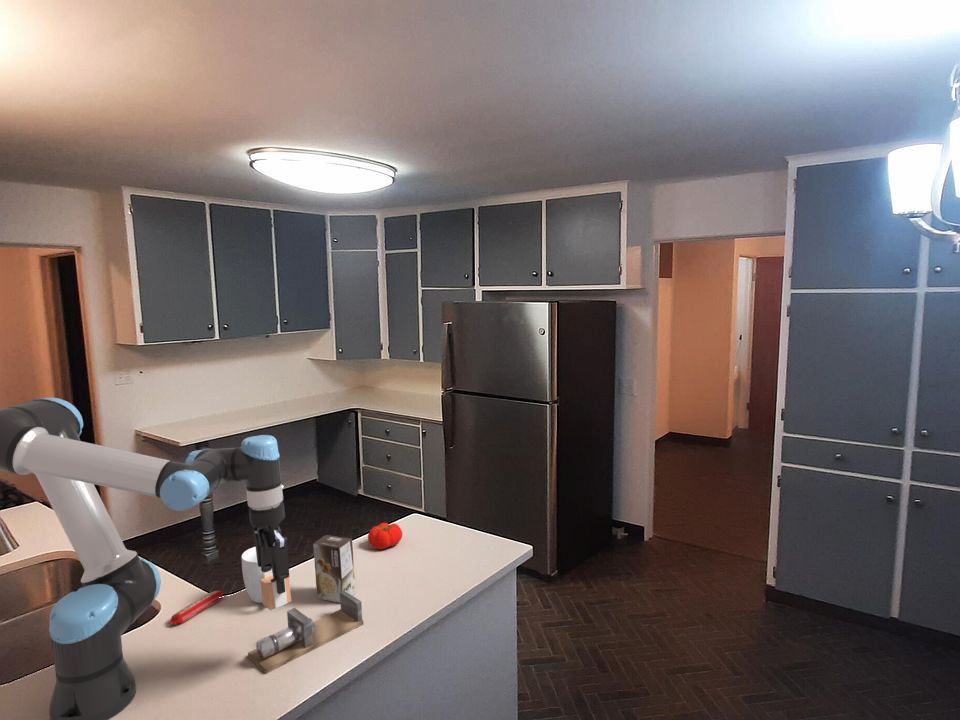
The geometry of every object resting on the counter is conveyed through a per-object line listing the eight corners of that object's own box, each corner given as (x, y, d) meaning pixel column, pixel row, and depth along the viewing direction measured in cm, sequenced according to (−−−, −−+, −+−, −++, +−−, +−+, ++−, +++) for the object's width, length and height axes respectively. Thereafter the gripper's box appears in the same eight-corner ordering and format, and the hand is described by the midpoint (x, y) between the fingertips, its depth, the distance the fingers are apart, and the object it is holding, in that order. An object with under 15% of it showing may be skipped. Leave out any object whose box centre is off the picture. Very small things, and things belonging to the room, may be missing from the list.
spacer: (270, 610, 133) (267, 585, 132) (263, 604, 135) (260, 579, 135) (291, 601, 136) (288, 576, 135) (283, 595, 139) (280, 571, 138)
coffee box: (356, 592, 165) (353, 538, 163) (343, 604, 159) (340, 548, 157) (329, 587, 168) (326, 533, 166) (315, 598, 163) (312, 543, 161)
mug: (295, 605, 159) (292, 560, 157) (252, 619, 153) (249, 571, 151) (280, 583, 171) (277, 540, 170) (240, 594, 165) (237, 550, 164)
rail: (266, 673, 131) (263, 643, 130) (248, 656, 137) (246, 627, 136) (363, 624, 150) (362, 597, 149) (343, 611, 156) (342, 585, 155)
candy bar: (216, 596, 165) (215, 586, 165) (226, 598, 164) (225, 588, 164) (166, 626, 151) (165, 615, 150) (177, 629, 149) (176, 618, 149)
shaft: (264, 662, 133) (263, 645, 133) (256, 654, 136) (255, 638, 136) (316, 637, 143) (315, 621, 142) (307, 630, 145) (306, 615, 145)
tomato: (363, 547, 194) (362, 528, 193) (386, 535, 203) (385, 517, 202) (384, 555, 188) (384, 535, 187) (407, 542, 197) (407, 523, 196)
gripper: (299, 508, 129) (309, 608, 132) (266, 491, 141) (275, 583, 144) (266, 518, 124) (277, 622, 127) (234, 500, 136) (245, 595, 139)
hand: (276, 601), depth 136 cm, fingers closed on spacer, 4 cm apart
